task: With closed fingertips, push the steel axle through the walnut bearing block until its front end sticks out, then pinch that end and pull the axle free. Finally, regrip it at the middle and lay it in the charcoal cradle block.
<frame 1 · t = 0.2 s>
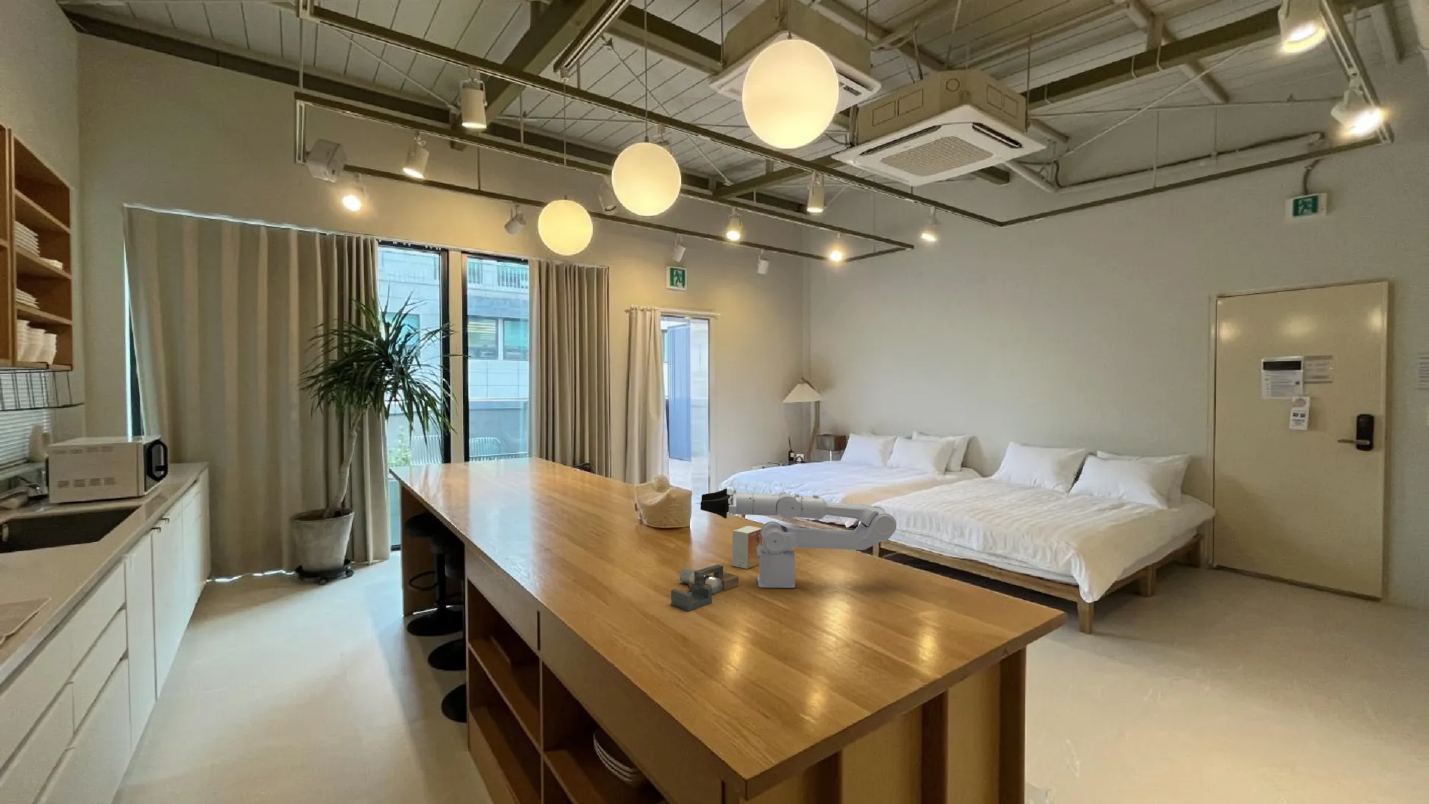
hand: (701, 501, 158), 22 cm above the kitchen island, tool horizontal, fingers open, 7 cm apart
bearing block: (708, 590, 152), on the kitchen island
axle: (700, 588, 155), on the kitchen island
cradle: (691, 603, 143), on the kitchen island
small box: (747, 565, 174), on the kitchen island
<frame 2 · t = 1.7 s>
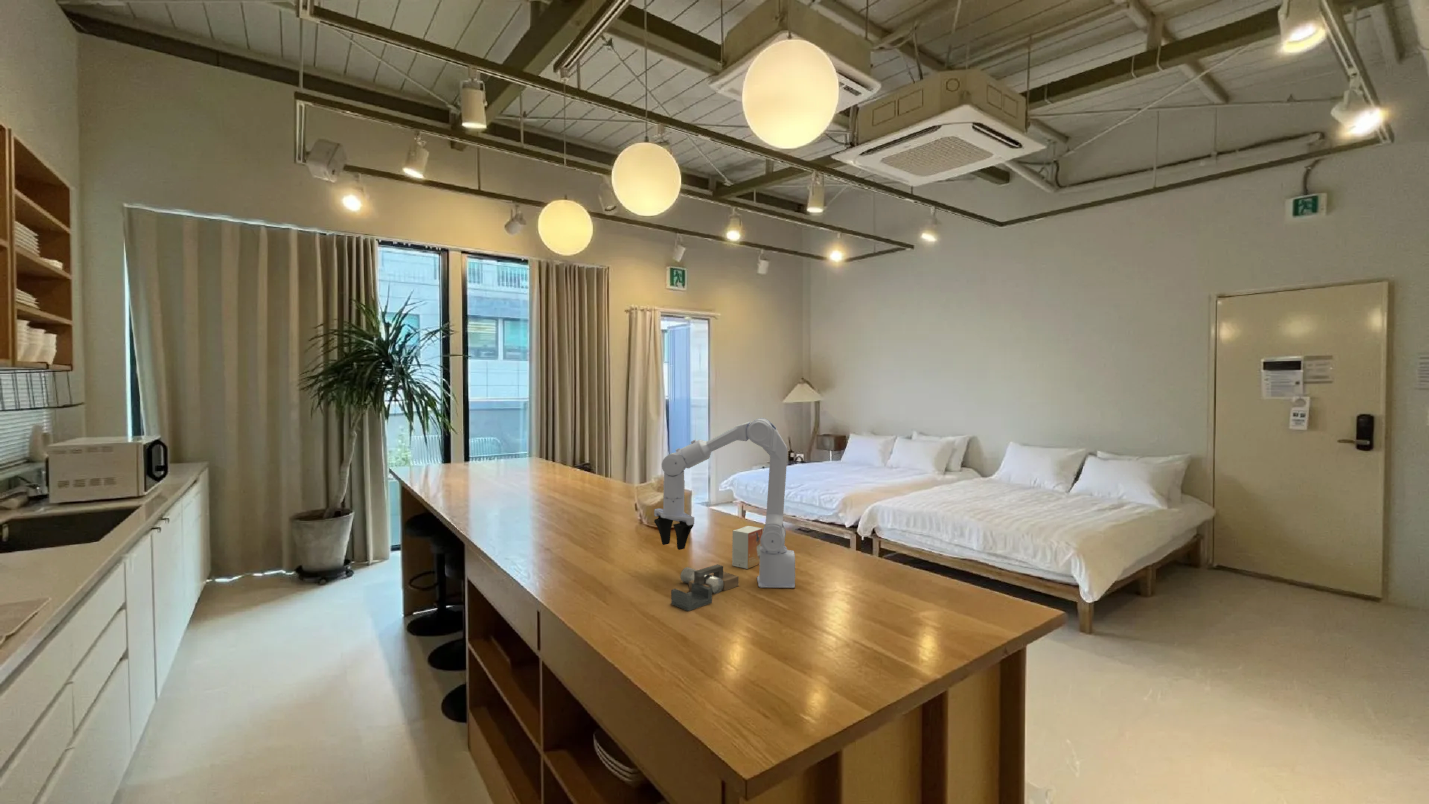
hand: (673, 546, 162), 8 cm above the kitchen island, tool pointing down, fingers open, 6 cm apart
nothing on the kitchen island moved.
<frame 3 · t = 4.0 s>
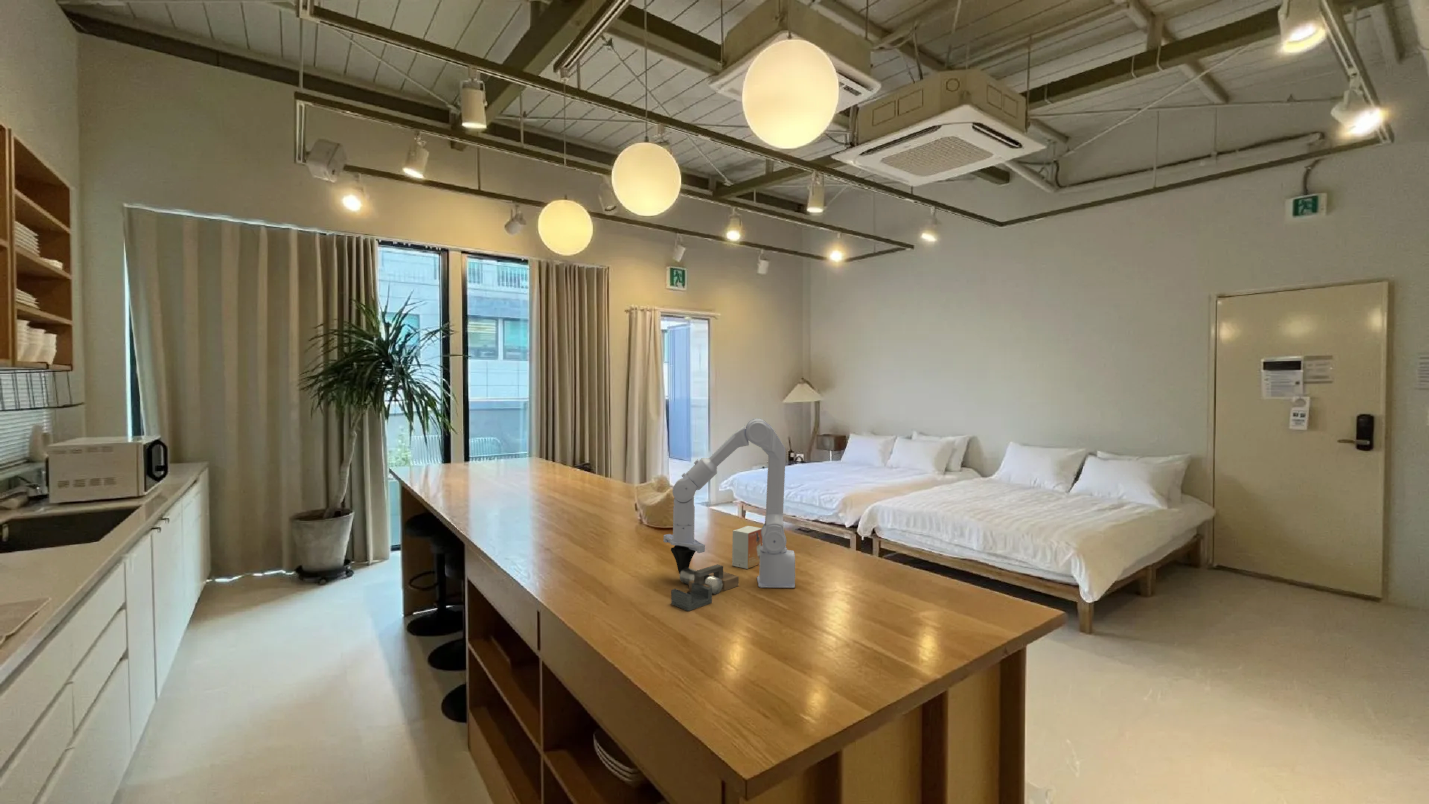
hand: (683, 573, 159), 2 cm above the kitchen island, tool pointing down, fingers closed
axle: (701, 587, 154), on the kitchen island, tilted 11°, touching gripper
everything else where it was.
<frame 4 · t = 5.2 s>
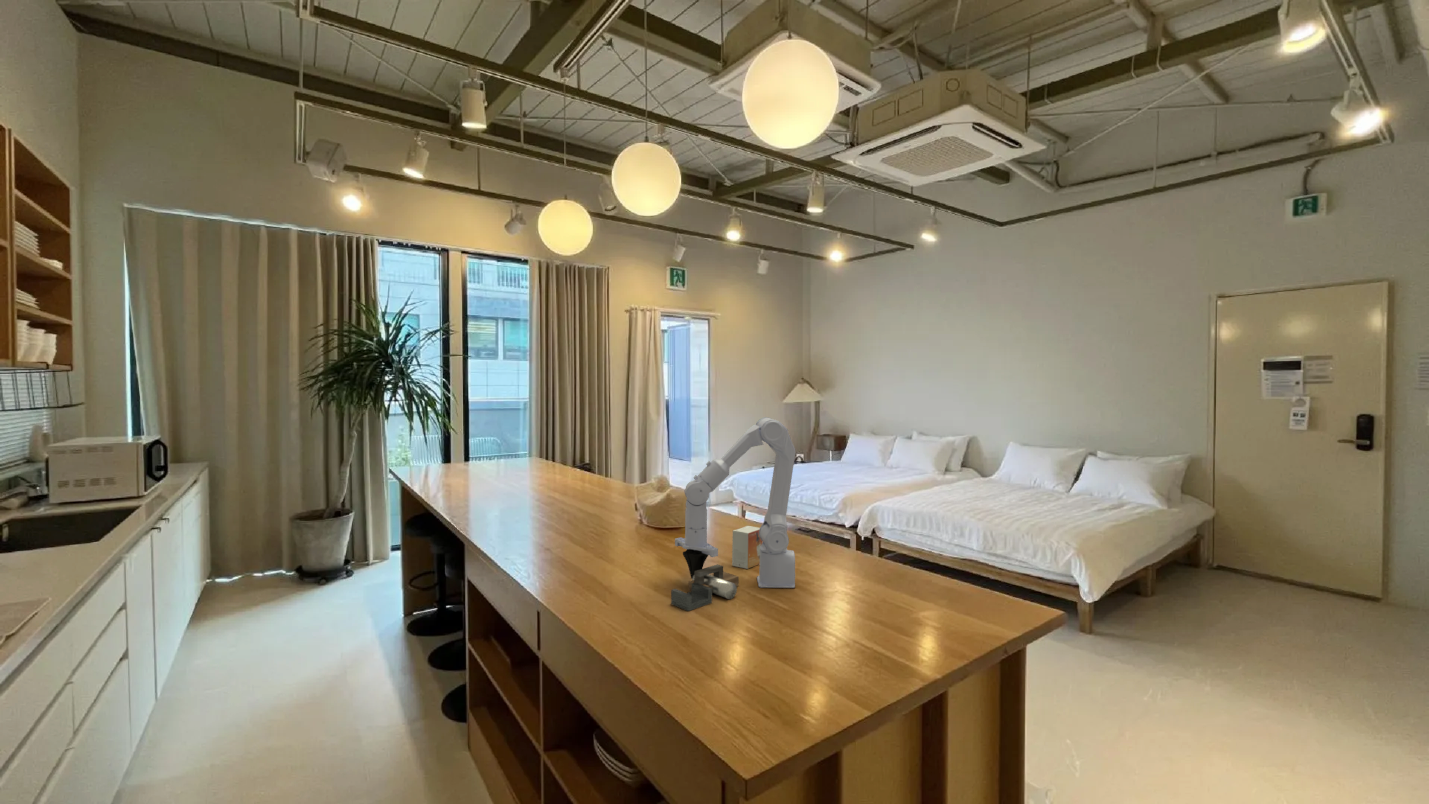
hand: (695, 578, 156), 2 cm above the kitchen island, tool pointing down, fingers closed
axle: (715, 592, 151), on the kitchen island, tilted 12°, touching gripper
everything else where it was.
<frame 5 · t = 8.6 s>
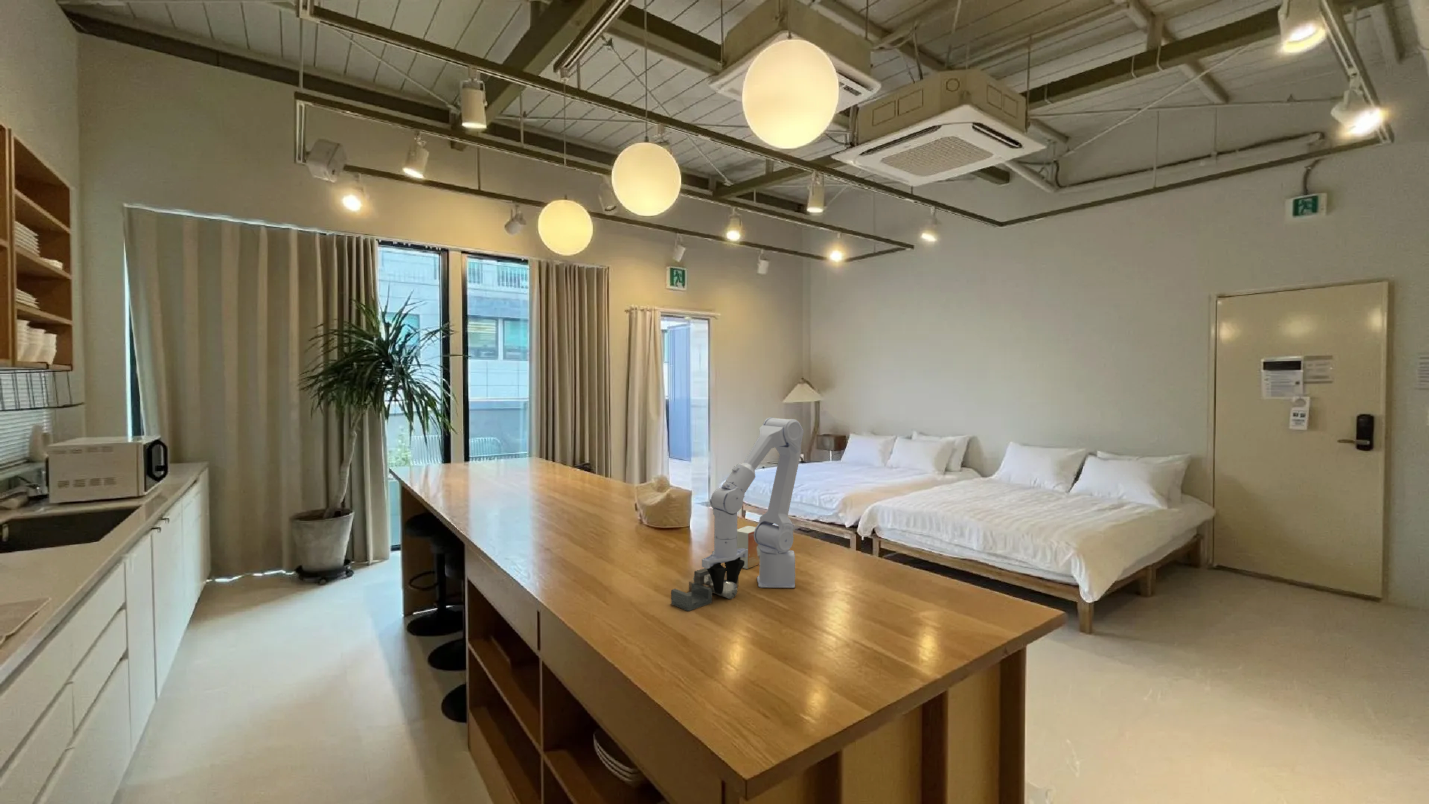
hand: (724, 590, 148), 1 cm above the kitchen island, tool pointing down, fingers closed on axle, 4 cm apart
axle: (714, 592, 151), on the kitchen island, touching gripper
everything else where it was.
when the fingers open (1 cm above the kitchen island, at t = 11.2 s): axle stays where it is, on the kitchen island.
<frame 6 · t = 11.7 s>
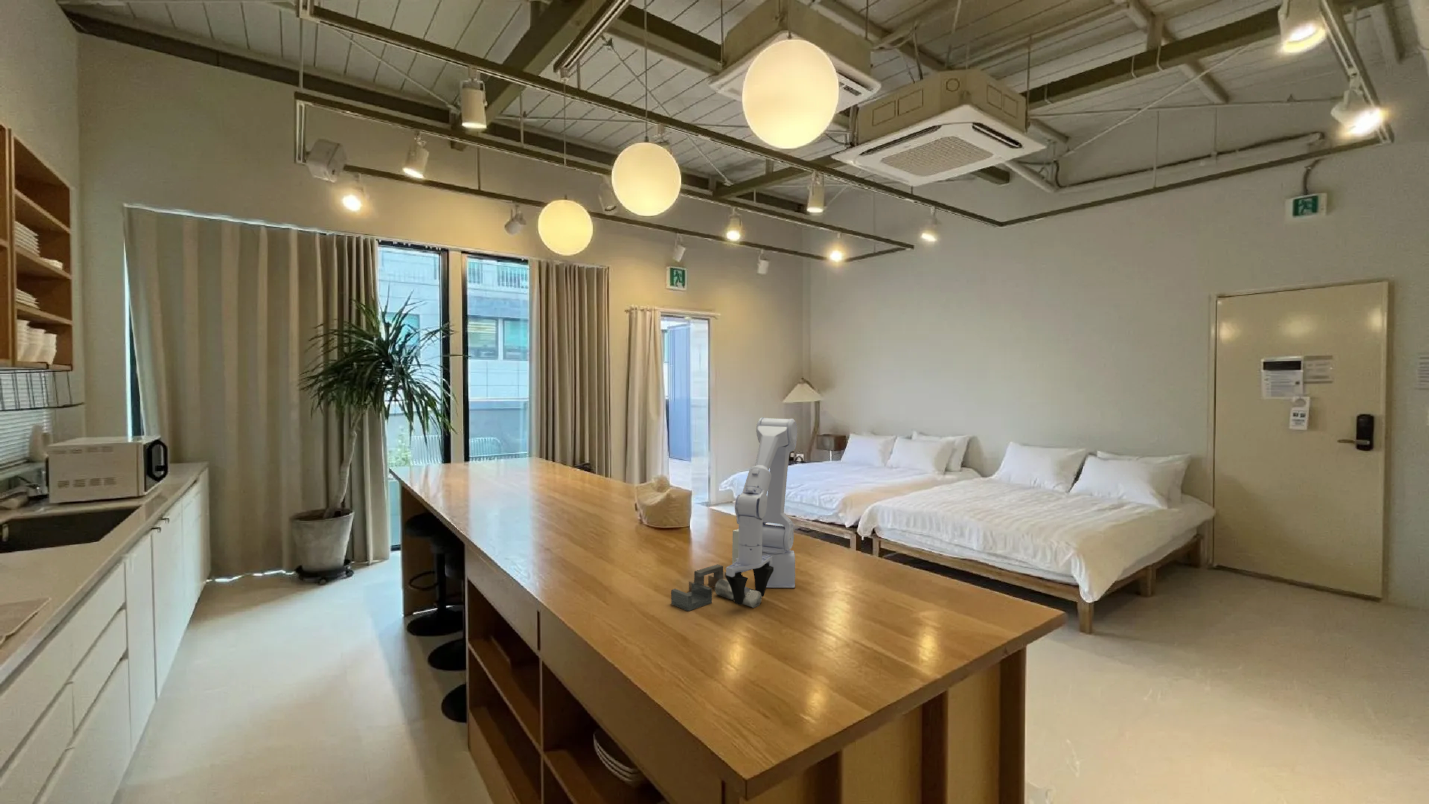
hand: (749, 599, 142), 1 cm above the kitchen island, tool pointing down, fingers open, 7 cm apart
axle: (736, 601, 145), on the kitchen island, tilted 9°
everything else where it was.
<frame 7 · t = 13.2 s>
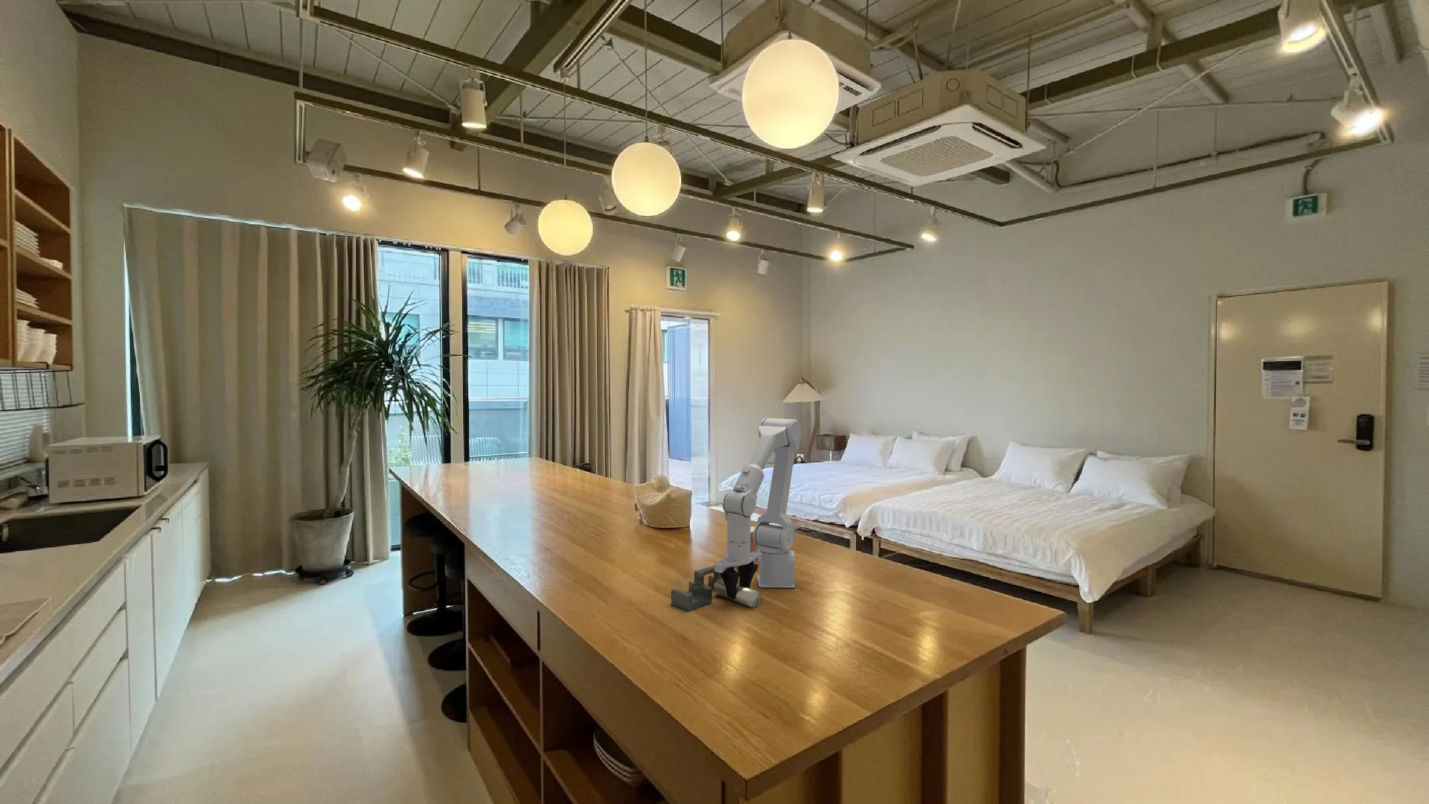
hand: (737, 595, 145), 1 cm above the kitchen island, tool pointing down, fingers closed on axle, 4 cm apart
axle: (736, 600, 145), on the kitchen island, touching gripper
everything else where it was.
when the fingers open (4 cm above the kitchen island, at t = 16.3 s): axle stays where it is, resting on cradle.
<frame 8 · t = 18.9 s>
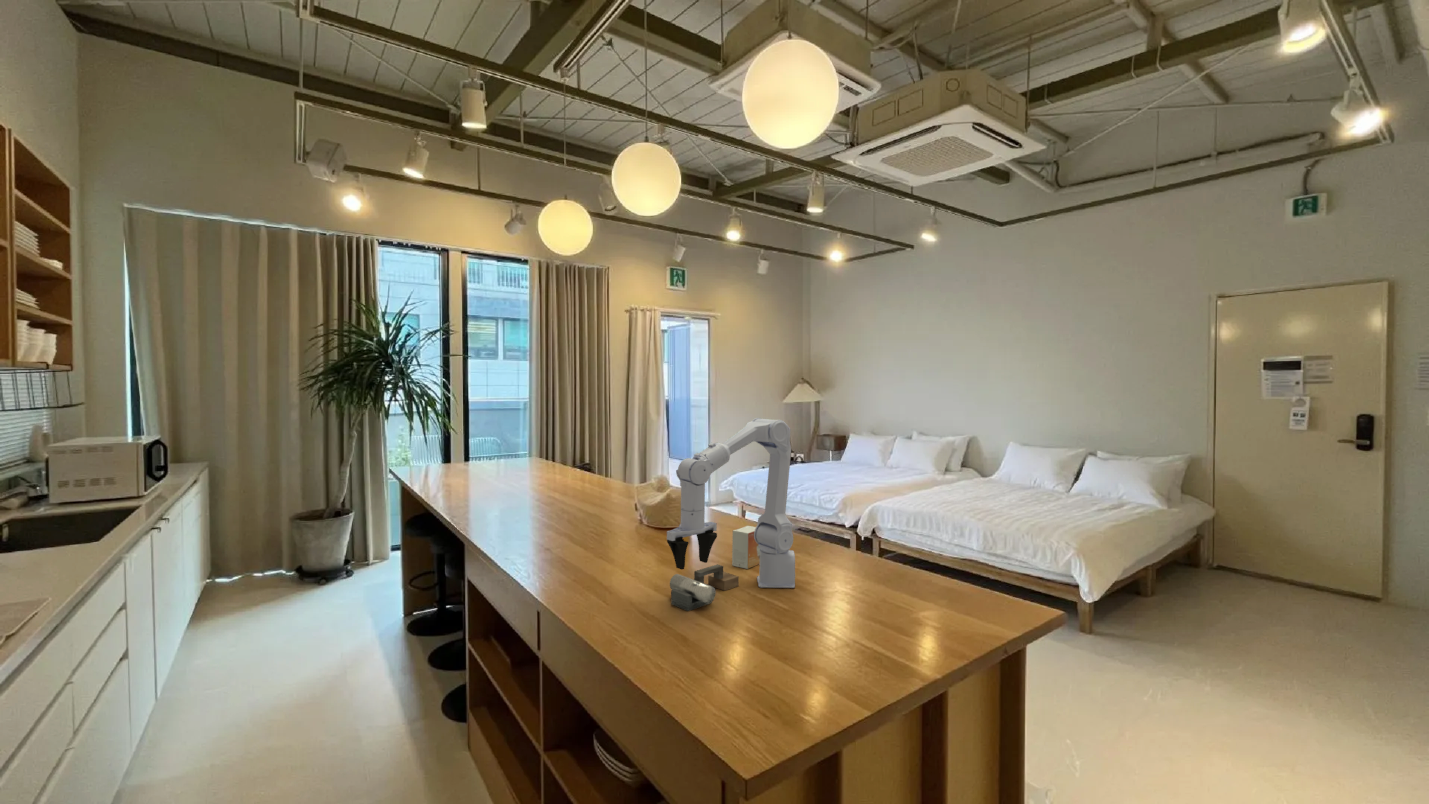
hand: (692, 565, 143), 9 cm above the kitchen island, tool pointing down, fingers open, 7 cm apart
axle: (690, 596, 143), point 2 cm above the kitchen island, tilted 16°, touching cradle
everything else where it was.
at the end: axle 0.4 cm off-centre on the cradle, point 1.6 cm above the cradle's base; axle touching cradle; the gripper is holding nothing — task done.
